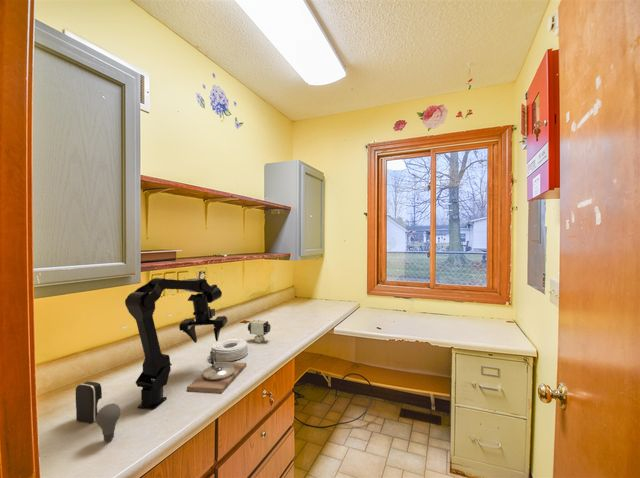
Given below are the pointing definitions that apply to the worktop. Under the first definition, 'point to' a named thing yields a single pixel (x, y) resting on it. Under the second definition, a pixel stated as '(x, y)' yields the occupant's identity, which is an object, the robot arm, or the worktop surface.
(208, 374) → the metal disc with handle
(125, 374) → the worktop surface
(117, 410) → the light bulb
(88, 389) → the battery charger
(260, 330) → the pneumatic valve
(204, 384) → the board
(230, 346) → the cable
